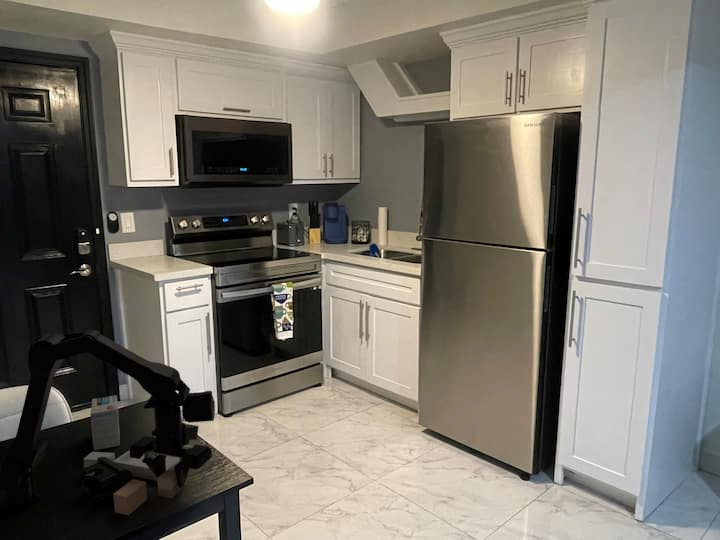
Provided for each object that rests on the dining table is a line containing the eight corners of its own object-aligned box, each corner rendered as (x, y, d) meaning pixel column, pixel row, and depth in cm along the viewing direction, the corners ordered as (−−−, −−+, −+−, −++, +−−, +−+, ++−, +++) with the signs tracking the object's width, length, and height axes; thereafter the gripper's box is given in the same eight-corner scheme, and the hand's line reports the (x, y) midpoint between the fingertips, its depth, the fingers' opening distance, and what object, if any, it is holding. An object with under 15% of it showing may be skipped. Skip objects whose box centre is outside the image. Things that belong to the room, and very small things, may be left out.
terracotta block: (128, 515, 114) (126, 496, 113) (115, 512, 115) (113, 494, 114) (147, 499, 120) (145, 481, 119) (134, 497, 121) (132, 479, 120)
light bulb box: (94, 434, 151) (90, 398, 149) (120, 429, 153) (117, 394, 152) (93, 451, 141) (89, 413, 139) (120, 445, 144) (117, 408, 142)
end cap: (134, 491, 123) (132, 465, 122) (105, 506, 117) (102, 479, 116) (112, 477, 129) (109, 452, 127) (82, 491, 123) (80, 464, 122)
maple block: (171, 498, 120) (170, 480, 119) (158, 496, 121) (157, 478, 120) (187, 484, 126) (186, 466, 125) (174, 481, 127) (173, 464, 126)
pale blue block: (116, 469, 132) (114, 453, 131) (107, 477, 129) (106, 460, 128) (94, 468, 133) (92, 451, 132) (85, 475, 130) (83, 459, 129)
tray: (166, 482, 126) (165, 471, 125) (114, 472, 131) (112, 461, 130) (196, 457, 138) (196, 446, 137) (147, 448, 142) (147, 438, 142)
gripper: (223, 413, 125) (226, 473, 128) (157, 403, 131) (161, 461, 134) (195, 435, 115) (199, 500, 117) (125, 423, 120) (130, 486, 123)
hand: (172, 485), depth 123 cm, fingers open, 5 cm apart
